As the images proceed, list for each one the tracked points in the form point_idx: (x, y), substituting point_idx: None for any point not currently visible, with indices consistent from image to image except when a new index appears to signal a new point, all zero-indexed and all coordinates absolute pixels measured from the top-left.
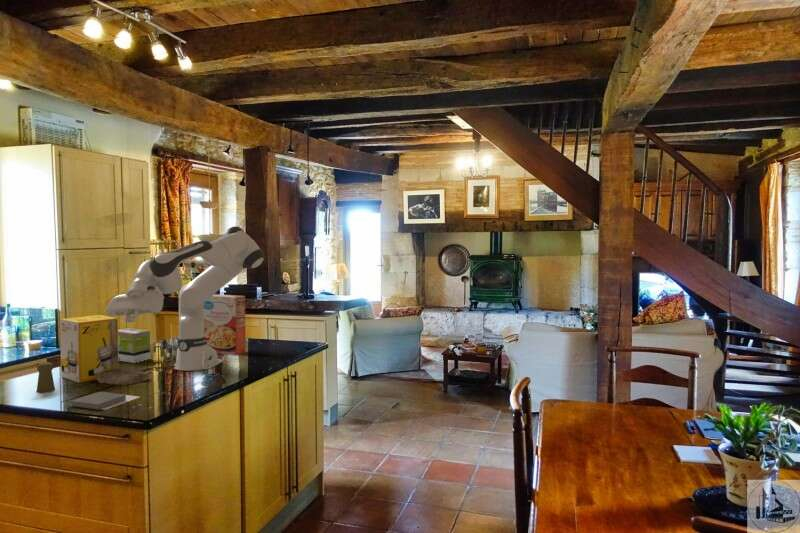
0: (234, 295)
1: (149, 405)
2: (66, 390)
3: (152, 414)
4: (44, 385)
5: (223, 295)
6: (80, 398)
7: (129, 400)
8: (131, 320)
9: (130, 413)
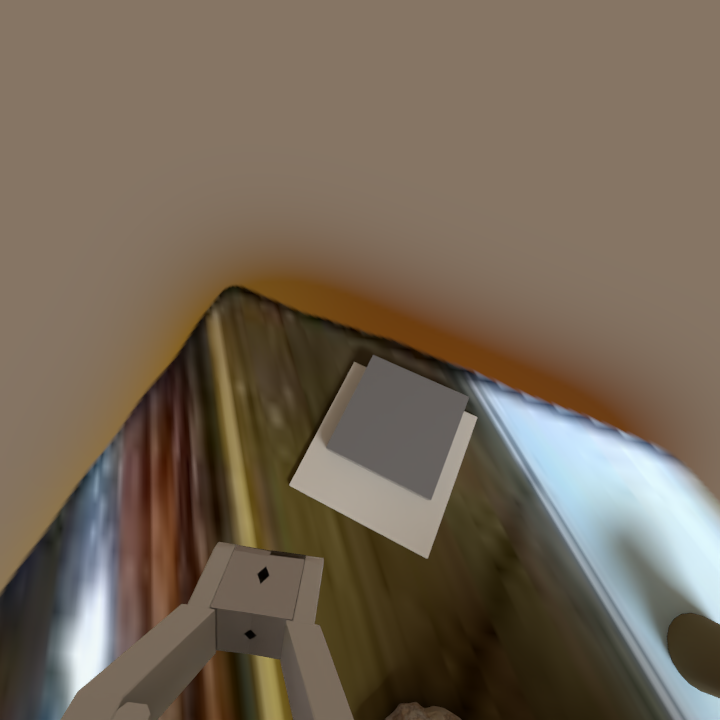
0: None
1: (247, 404)
2: (617, 645)
3: (226, 328)
4: (709, 628)
5: None
6: (454, 418)
7: (314, 444)
8: (234, 548)
9: (283, 341)
